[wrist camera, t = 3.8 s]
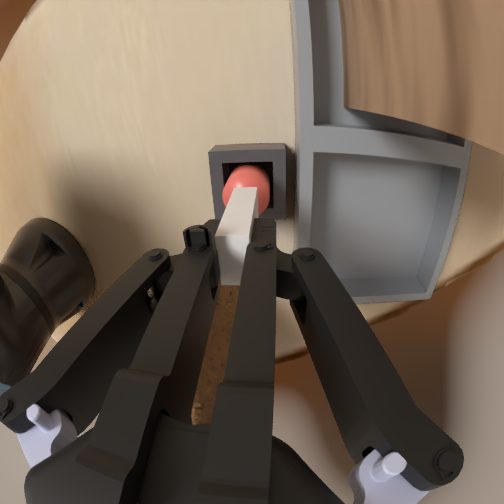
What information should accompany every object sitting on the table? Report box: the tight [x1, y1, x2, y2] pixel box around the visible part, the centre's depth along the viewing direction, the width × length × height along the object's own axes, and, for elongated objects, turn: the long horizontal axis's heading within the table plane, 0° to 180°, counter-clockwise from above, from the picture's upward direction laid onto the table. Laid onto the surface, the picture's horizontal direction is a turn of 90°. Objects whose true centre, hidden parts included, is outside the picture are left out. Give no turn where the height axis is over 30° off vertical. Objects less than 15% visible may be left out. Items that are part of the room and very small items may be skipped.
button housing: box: [208, 143, 286, 219], centre depth 23 cm, size 6×6×3 cm
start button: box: [222, 163, 270, 215], centre depth 21 cm, size 3×3×4 cm
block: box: [191, 279, 240, 425], centre depth 23 cm, size 11×8×20 cm
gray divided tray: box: [289, 0, 472, 304], centre depth 19 cm, size 16×32×4 cm, turn 3°
